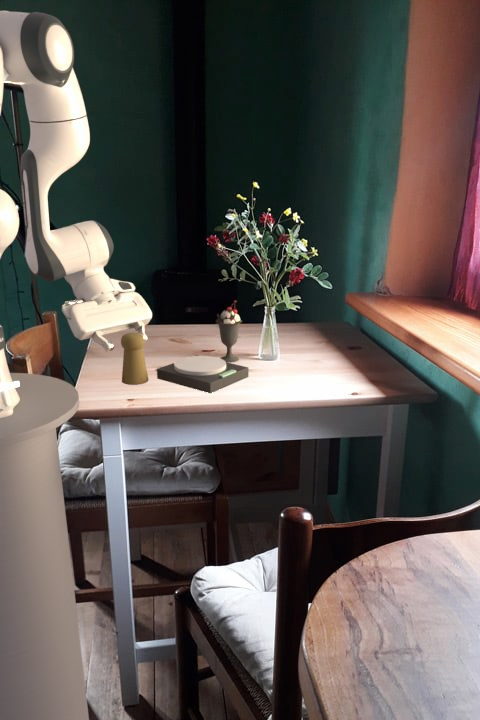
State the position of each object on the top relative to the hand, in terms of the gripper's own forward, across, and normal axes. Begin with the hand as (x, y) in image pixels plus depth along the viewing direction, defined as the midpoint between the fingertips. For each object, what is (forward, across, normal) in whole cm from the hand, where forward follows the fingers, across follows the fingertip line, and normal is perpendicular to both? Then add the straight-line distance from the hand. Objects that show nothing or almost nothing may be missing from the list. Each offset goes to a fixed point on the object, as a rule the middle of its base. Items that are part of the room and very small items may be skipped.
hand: (127, 345), depth 139 cm
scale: (+14, +12, -3) cm, 19 cm away
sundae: (+11, +26, +1) cm, 28 cm away
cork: (+7, 0, +4) cm, 8 cm away
